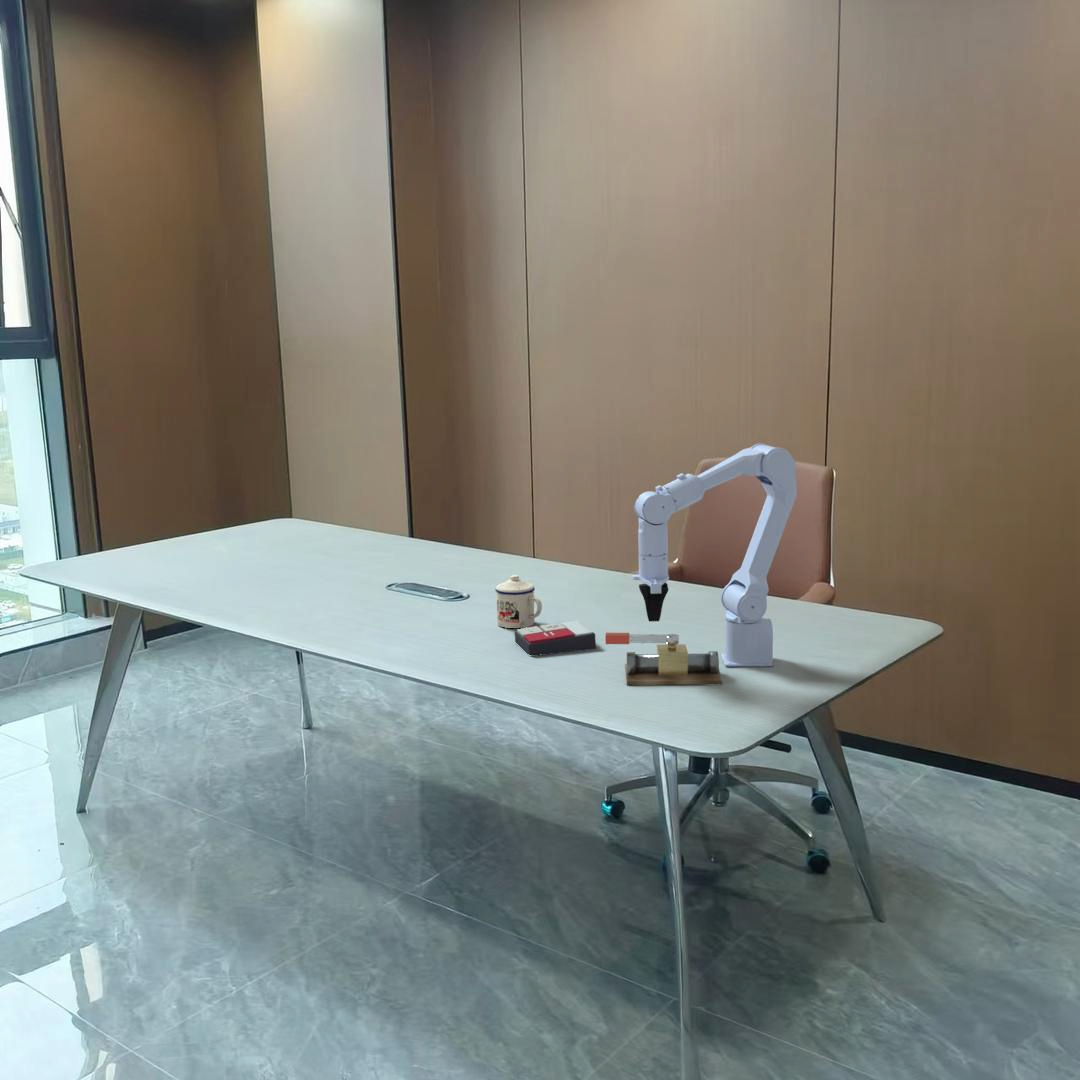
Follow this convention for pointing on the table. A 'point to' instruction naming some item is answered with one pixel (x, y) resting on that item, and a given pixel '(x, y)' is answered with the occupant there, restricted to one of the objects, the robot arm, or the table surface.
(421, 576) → the table surface
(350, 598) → the table surface
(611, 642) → the lever
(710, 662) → the valve
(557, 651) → the calculator
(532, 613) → the teacup with lid
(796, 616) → the table surface
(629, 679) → the board
